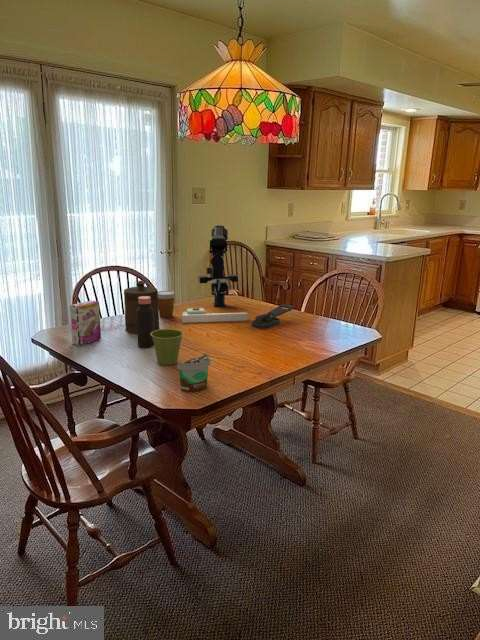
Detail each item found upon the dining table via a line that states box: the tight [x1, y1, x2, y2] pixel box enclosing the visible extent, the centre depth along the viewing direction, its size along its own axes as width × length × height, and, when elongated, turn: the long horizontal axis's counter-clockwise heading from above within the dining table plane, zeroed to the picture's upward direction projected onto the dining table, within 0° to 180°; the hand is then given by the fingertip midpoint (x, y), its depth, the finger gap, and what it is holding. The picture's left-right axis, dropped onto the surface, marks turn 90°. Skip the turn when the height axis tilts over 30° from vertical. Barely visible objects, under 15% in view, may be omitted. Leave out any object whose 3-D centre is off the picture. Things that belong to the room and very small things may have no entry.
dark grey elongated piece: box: [251, 303, 295, 330], centre depth 228 cm, size 9×7×25 cm
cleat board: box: [182, 311, 249, 324], centre depth 234 cm, size 9×31×4 cm, turn 100°
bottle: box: [136, 296, 155, 349], centre depth 192 cm, size 7×7×20 cm
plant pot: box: [150, 328, 184, 366], centre depth 176 cm, size 12×12×11 cm
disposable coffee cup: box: [158, 290, 176, 319], centre depth 236 cm, size 10×10×12 cm
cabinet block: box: [186, 307, 206, 314], centre depth 232 cm, size 6×8×6 cm
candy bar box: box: [69, 299, 102, 346], centre depth 196 cm, size 11×5×16 cm, turn 145°
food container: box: [176, 352, 212, 393], centre depth 154 cm, size 12×6×10 cm, turn 138°
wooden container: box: [123, 280, 160, 335], centre depth 213 cm, size 15×15×22 cm
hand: (217, 296), depth 233 cm, fingers closed
